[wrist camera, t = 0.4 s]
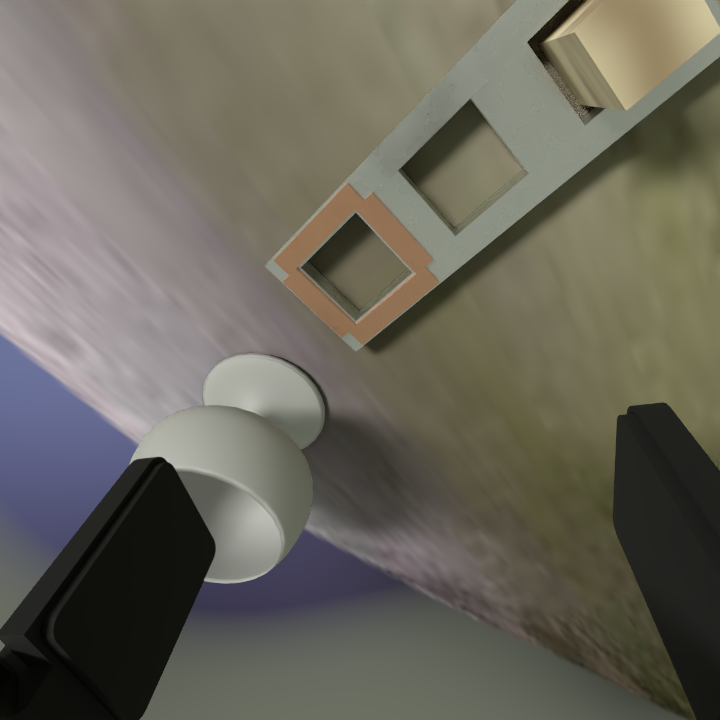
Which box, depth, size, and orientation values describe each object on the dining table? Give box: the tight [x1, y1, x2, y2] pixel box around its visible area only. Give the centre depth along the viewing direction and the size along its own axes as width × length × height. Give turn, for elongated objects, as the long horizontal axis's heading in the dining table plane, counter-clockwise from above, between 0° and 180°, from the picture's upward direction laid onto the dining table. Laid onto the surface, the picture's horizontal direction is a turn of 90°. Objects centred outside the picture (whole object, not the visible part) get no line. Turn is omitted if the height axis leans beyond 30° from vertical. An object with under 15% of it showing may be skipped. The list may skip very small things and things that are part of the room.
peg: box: [539, 0, 720, 111], centre depth 25 cm, size 4×4×8 cm
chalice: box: [129, 353, 325, 583], centre depth 39 cm, size 14×14×15 cm
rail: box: [265, 0, 720, 352], centre depth 31 cm, size 30×10×2 cm, turn 134°
